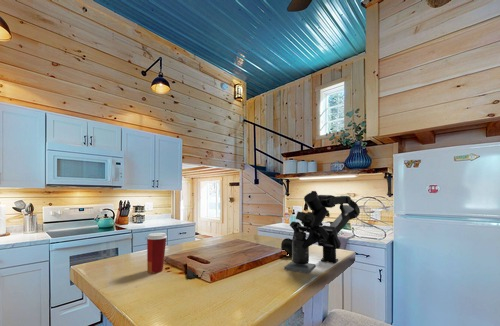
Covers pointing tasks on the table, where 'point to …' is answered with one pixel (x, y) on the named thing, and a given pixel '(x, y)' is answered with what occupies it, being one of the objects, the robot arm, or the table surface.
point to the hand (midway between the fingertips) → (297, 246)
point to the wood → (191, 275)
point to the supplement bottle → (299, 249)
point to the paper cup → (155, 252)
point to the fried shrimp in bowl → (287, 246)
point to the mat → (300, 267)
